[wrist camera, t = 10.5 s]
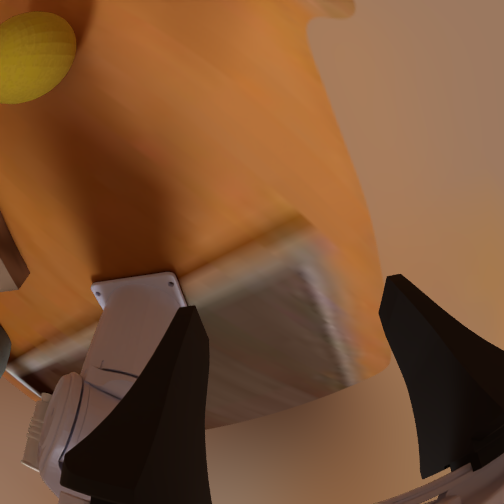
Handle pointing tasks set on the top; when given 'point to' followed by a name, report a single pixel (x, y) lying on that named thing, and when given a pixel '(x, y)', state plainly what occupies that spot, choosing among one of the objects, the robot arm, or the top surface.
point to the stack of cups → (35, 432)
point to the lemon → (34, 55)
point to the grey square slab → (10, 261)
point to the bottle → (4, 350)
